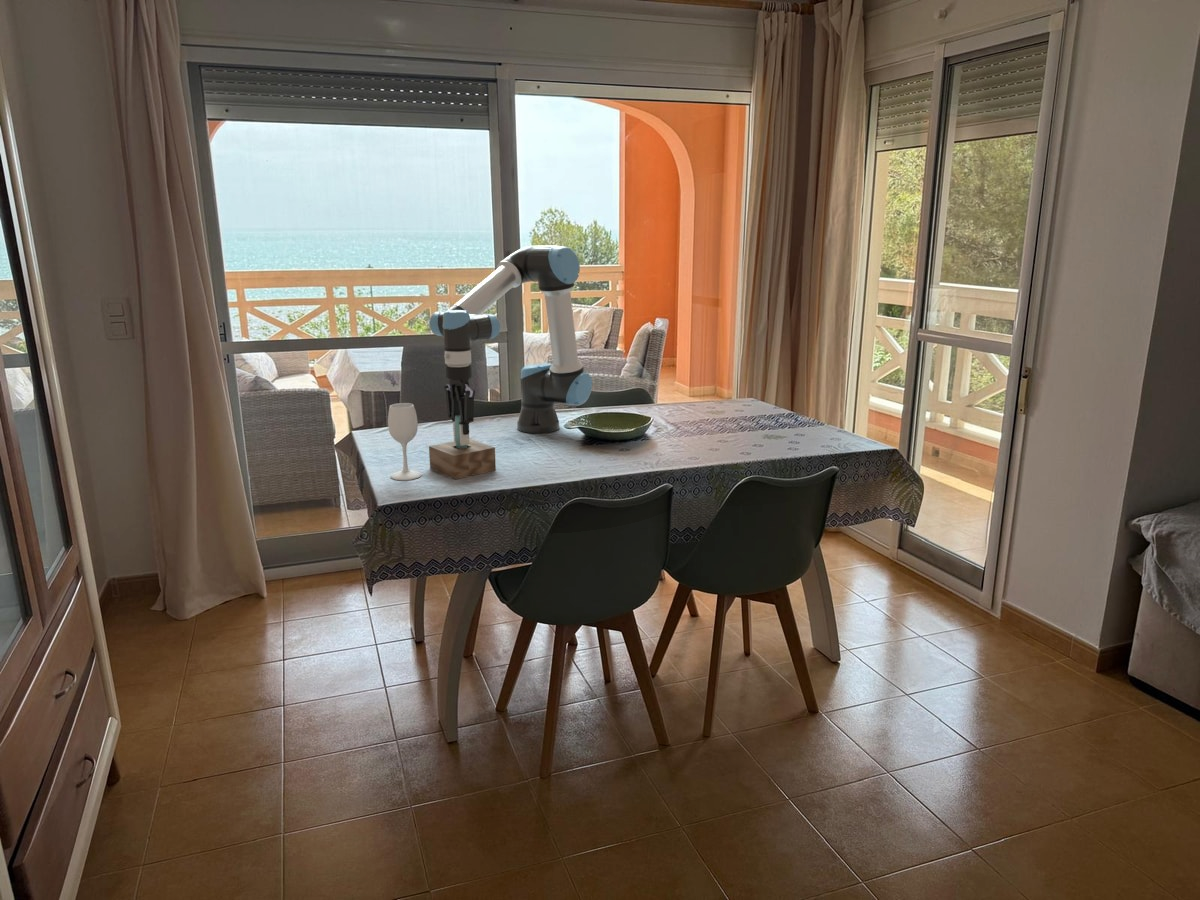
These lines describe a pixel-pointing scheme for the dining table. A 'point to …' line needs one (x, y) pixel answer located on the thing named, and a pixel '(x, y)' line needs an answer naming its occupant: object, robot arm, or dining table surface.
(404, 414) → the wineglass
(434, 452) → the socket block
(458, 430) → the dowel
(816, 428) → the dining table surface
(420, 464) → the dining table surface
